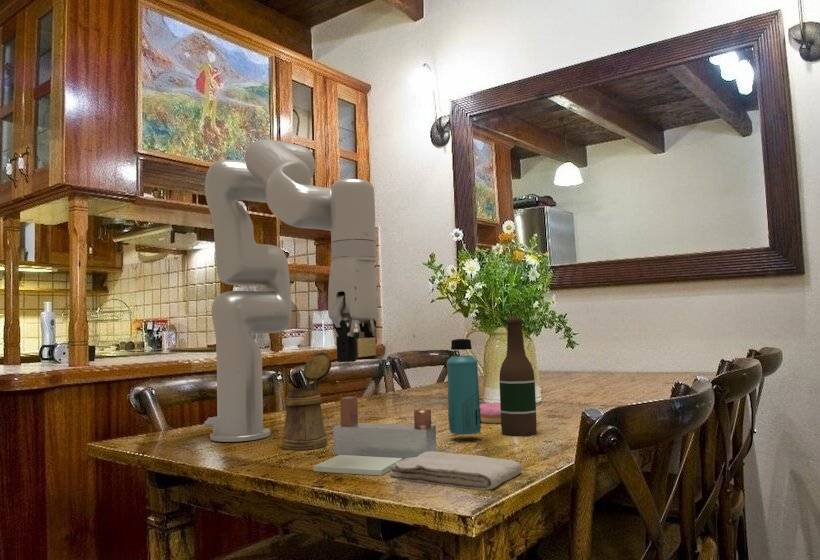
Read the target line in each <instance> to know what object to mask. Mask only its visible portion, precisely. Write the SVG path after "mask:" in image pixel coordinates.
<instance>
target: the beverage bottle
mask: <svg viewBox="0 0 820 560" xmlns="http://www.w3.org/2000/svg"><path fill="white" fill-rule="evenodd" d="M472 349H473V347H472V341H471V339H468V338H456V339H452V340H451V346H450V350H453V351H460V350H461V351H463V350H464V351H465V350H466V351H467V350H472ZM478 363H479V362H478V360H477V358H476V357H474V356H473V355H452V356H450V358H448V360H447V361H446V370H447V374H446V375H447V376H446V377H447V392H446V393H447V402H448V403H447V407H448V408H447V413H448V428H449V432H450V433H451V434H454V435H475V434H479V433H481V429H482V422H481V414H480V405H481V400H480V388H479V387H480V385H479V383H480V382H479V372H478Z"/></svg>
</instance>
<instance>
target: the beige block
mask: <svg viewBox="0 0 820 560" xmlns="http://www.w3.org/2000/svg"><path fill="white" fill-rule="evenodd" d="M352 337H356V358H357V357H365V356H372V355H375V356H376V354H377V352H376V351H377V349H376V348H377V345H376V337H371V338H364V332H358V331H354V333H353V336H352Z"/></svg>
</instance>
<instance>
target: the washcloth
mask: <svg viewBox="0 0 820 560" xmlns="http://www.w3.org/2000/svg"><path fill="white" fill-rule="evenodd" d="M390 468H391V470H390V471H388V472H389V473H388V474H389V476H390V477H391V478H395V479H398V480H404V481H410V482H418V483H425V484H430V485H431V484H433V485H439V486H441V485H442V486H447V487H448V486H450V487H456V488H457V487H458V488H463V489H464V488H465V489H472V490H479V491H489V490H493V489H495V488H497V487H499V486H500V485H501V484H503V483H504V482H507V481H510V480H512V479H513V478H515V477H517V476H519V475H520V474H521V473H522V470H523V469H522V465H521V463H520V462H518V461H516V460H513V459H512V460H511V459H509V458H508V459H506V458H496V457H495V458H494V457H489V456H484V455H475V454H463V453H453V452H452V453H451V452H450V453H449V452H443V451H436V452H434V451H429V452H424V453H423V454H420V455H419V456H417V457H413V458H403V460H401V461H399V462H396V463H395V465H391V466H390Z"/></svg>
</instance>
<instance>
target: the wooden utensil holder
mask: <svg viewBox="0 0 820 560" xmlns="http://www.w3.org/2000/svg"><path fill="white" fill-rule="evenodd" d="M332 364H333V363H332V359H331V357H330V356H329V355H328V354H327V353H326V352H324V351H321V352H319V353H316V354H315V355H313V356H312V357H310V358H308V360H307V361H306V363H305V365H304V367H303V376H304V378H305V379H306V381H307V382H306V386H305V387H304V388H303V387H301V388H300V387H299V388H298V387H296V388H289V389H288V390H287V395H286V397H285V405H286V410H285V419H284V421H285V422H284V430H283V437H282V440H281V441H282V442H281V448H282V449H284V450H289V451H309V450H316V449H321V448H325V447H326V446H327V445H328V437H327V434H326V432H325V425H324V418H323V411H322V405H321V404H322V397H321V396H322V395H321V394H320V389H319V384H320V382H321V380H324V379H325V378H326V377H327V376H328V374H329V373H330V371H331V369H332V368H331V367H332Z"/></svg>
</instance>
